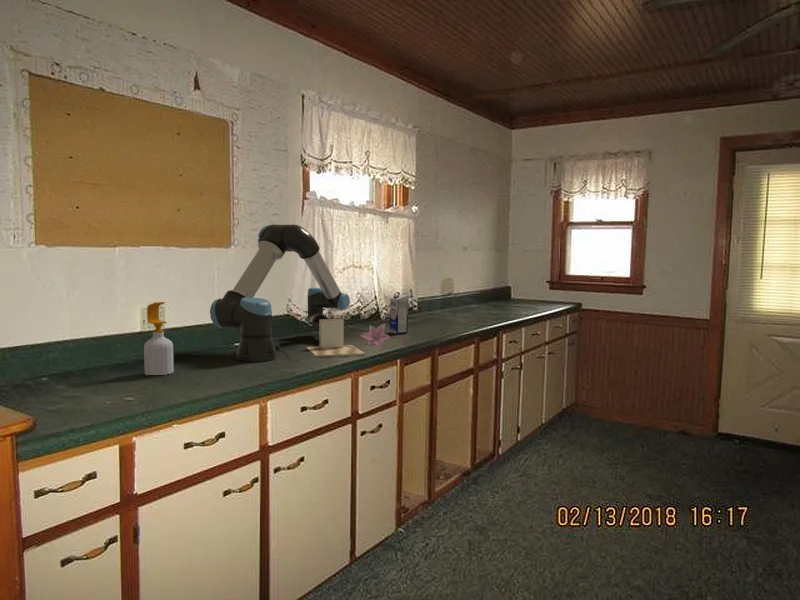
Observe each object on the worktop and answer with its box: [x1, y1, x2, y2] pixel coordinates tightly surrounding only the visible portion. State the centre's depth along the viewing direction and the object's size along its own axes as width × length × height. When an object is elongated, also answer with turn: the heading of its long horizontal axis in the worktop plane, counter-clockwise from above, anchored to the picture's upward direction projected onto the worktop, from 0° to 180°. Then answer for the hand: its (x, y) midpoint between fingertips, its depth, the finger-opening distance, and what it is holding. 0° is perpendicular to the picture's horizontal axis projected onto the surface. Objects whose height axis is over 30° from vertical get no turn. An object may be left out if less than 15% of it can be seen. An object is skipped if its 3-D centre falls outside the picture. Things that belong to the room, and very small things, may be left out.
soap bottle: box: [143, 301, 175, 376], centre depth 190 cm, size 9×9×25 cm
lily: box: [360, 323, 391, 349], centre depth 250 cm, size 12×12×10 cm
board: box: [306, 344, 365, 359], centre depth 233 cm, size 20×20×1 cm
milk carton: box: [389, 294, 409, 335], centre depth 288 cm, size 7×7×20 cm
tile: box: [318, 318, 345, 349], centre depth 238 cm, size 10×3×12 cm, turn 110°
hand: (331, 329), depth 242 cm, fingers closed
